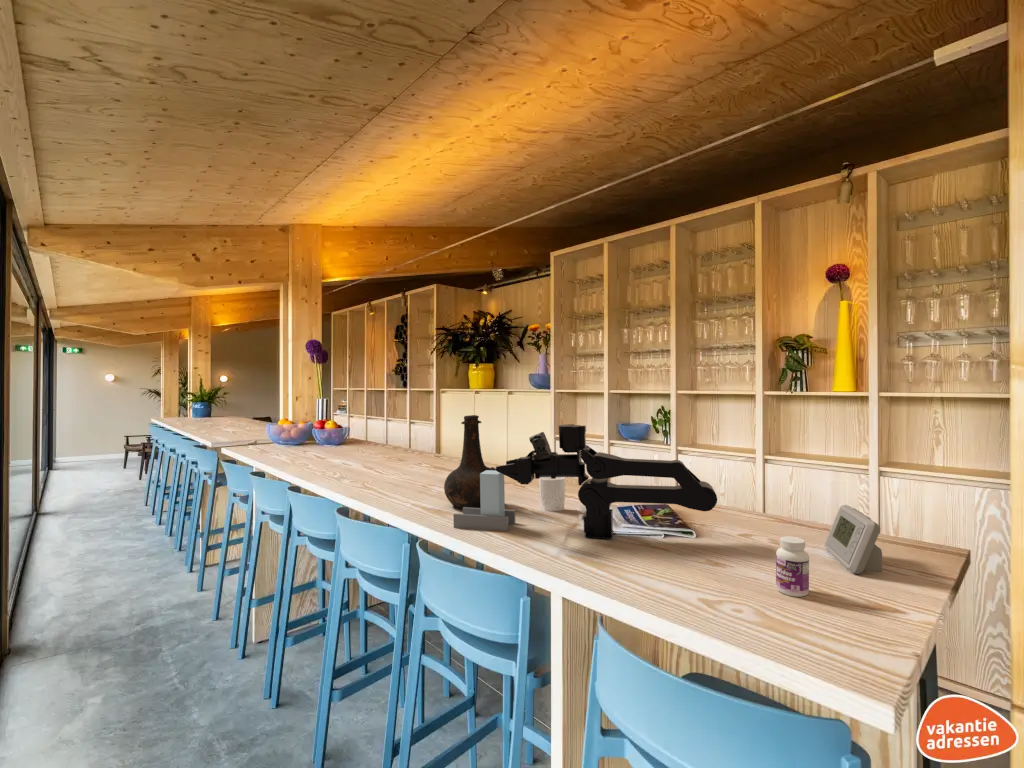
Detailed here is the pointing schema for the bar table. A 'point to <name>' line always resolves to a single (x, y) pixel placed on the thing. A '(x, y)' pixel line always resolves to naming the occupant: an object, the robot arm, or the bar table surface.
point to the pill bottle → (792, 567)
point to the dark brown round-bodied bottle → (467, 469)
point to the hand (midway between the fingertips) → (501, 465)
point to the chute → (483, 520)
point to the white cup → (552, 493)
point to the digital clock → (854, 541)
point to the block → (492, 493)
